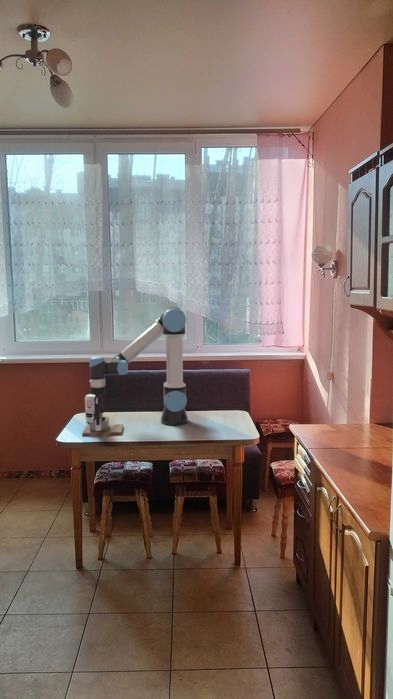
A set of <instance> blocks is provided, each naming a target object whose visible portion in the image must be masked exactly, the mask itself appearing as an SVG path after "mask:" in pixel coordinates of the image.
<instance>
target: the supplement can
mask: <svg viewBox="0 0 393 699" xmlns="http://www.w3.org/2000/svg"><path fill="white" fill-rule="evenodd" d="M94 398H95V395H92V394H91V393H89V394H86V395H85V397H84V407H85V408H84V409H85V421H86V422H87V423H89V422H90V420H91V418H92V417H95V405H94Z"/></svg>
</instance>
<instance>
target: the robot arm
mask: <svg viewBox="0 0 393 699" xmlns="http://www.w3.org/2000/svg"><path fill="white" fill-rule="evenodd" d="M186 323H187V317H186V315H185V313H184V311H183V310H182V309H180V308H179V307H176V306H170V307H168V308H166V309H165V310H164V312H163V313H162V314H160V316H159V317H158V318H156V319H155V323H153V324H152V325H151V326H150V327H149V328H147V329H146V330H144V332H142V334H141V335H139V336H137V338H135V340H133V341H132V342H131V343H130V344H128V345H127V346H126V347H125V348H124V349H122V350H121V351H120V352H119V353H118V354H117V355H115V356H113V358H112V359H111V360H105V358H104V357H103V356H99V355H97V356H92V357H90V358H89V379H90V380H89V381H88V382H89V383H90V394H92V395H95V398H94V405H95V417H94V419H95V426H96V431H101V418H100V413H101V414H102V417H104V414H103V413H105V411H104V405H103V400H104V399H103V395H105V394H106V377H105V376H109V375H110V376H113V375H114V376H115V375H118V376H122V375H123V376H124V375H127V374H128V371H129V370H128V366H129V364H130V363H131V362H132V361H134V359H136V358H137V357H139V355H140V354H142V353H143V352H145V351H146V349H147V348H149V347H150V346H152V344H154V343H155V342H156V341H157V340H159V339H160V338H161V337H162V336H164V337H165V350H166V352H165V355H166V381H165V382H163V411H162V413H161V416H160V423H161V424H163V425H166V426H168V425H169V426H182V425H185V424H187V423H188V422H189V417H188V414H187V410H186V408H185V407H186V405H187V402H188V401H187V400H188V398H187V385H186V383H185V382H184V365H183V364H184V363H183V356H184V355H183V353H184V352H183V351H184V350H183V344H184V341H183V337H184V336H185V335H186Z"/></svg>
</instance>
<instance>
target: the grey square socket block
mask: <svg viewBox="0 0 393 699" xmlns="http://www.w3.org/2000/svg"><path fill="white" fill-rule="evenodd" d="M88 423H89V424H88V425H90V431H96V426H95V419H94V417H92V418H91V420H90V422H88ZM109 425H110V418H109V416H103V417H102V421H101V431H107V430H108V427H109Z"/></svg>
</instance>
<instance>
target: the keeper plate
mask: <svg viewBox="0 0 393 699" xmlns="http://www.w3.org/2000/svg"><path fill="white" fill-rule="evenodd" d="M100 418H101V421H102V414H101V413H100ZM123 430H124V424H123V423H122V424H121V423H119V424H117V423H116V424H109V427H108V430H107V431H90V424H87V425H85V426H84V429H83V431H82V433H81V435H82V437H97V436H98V437H100V436H101V437H102V436H122V434H123Z"/></svg>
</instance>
